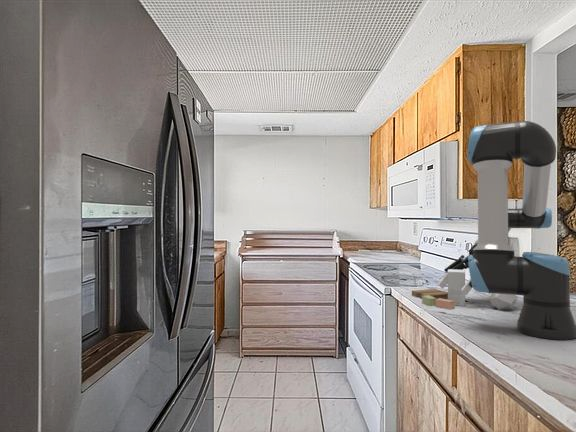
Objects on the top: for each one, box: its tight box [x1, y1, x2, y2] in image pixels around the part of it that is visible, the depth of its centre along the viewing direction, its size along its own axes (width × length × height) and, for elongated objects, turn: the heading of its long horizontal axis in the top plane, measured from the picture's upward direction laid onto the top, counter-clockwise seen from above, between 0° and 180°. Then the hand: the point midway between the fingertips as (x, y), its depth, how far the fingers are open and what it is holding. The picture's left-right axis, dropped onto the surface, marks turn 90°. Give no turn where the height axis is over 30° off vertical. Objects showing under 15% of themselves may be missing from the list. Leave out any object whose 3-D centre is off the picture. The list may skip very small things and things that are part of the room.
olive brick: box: [421, 295, 436, 307], centre depth 159 cm, size 6×3×3 cm, turn 7°
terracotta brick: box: [435, 298, 456, 310], centre depth 153 cm, size 6×3×3 cm, turn 37°
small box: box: [447, 269, 466, 307], centre depth 159 cm, size 8×6×13 cm
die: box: [488, 293, 519, 311], centre depth 150 cm, size 8×9×10 cm
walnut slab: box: [411, 288, 448, 300], centre depth 172 cm, size 12×12×2 cm
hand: (451, 289), depth 159 cm, fingers open, 13 cm apart
